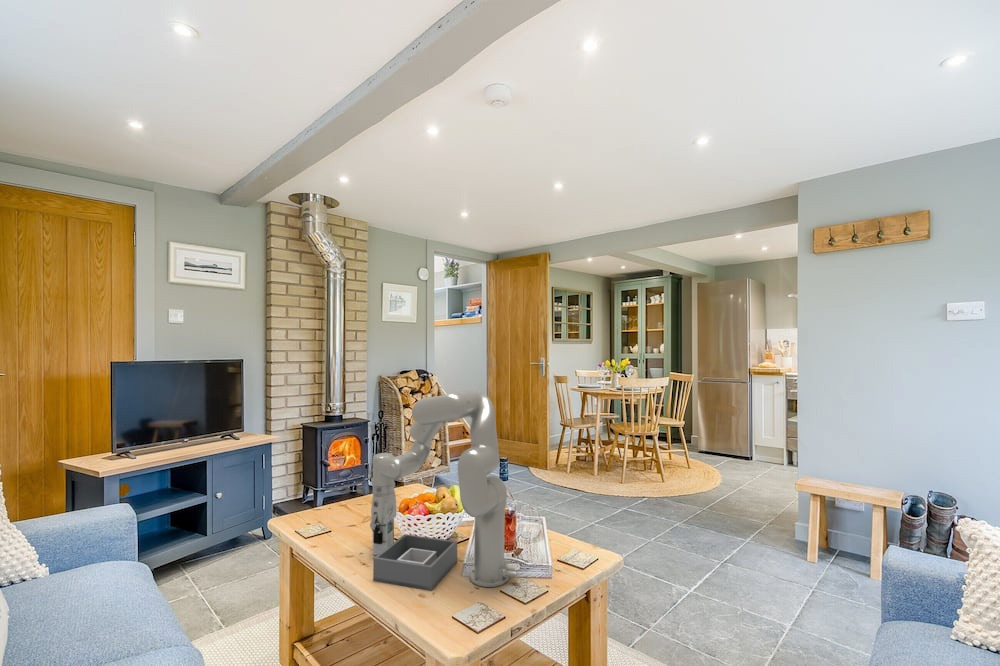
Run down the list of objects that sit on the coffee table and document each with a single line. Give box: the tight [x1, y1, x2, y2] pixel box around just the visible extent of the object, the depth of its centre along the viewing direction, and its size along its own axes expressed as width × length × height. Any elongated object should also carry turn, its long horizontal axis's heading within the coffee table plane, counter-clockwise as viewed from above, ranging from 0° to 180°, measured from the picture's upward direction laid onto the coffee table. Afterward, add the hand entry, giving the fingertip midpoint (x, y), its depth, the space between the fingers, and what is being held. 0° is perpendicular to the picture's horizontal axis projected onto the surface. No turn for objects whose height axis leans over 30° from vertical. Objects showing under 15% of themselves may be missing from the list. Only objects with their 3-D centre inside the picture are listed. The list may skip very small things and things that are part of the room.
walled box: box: [372, 533, 458, 592], centre depth 160 cm, size 20×20×7 cm
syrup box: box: [371, 514, 395, 556], centre depth 174 cm, size 6×6×14 cm
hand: (383, 539), depth 174 cm, fingers closed on syrup box, 6 cm apart
